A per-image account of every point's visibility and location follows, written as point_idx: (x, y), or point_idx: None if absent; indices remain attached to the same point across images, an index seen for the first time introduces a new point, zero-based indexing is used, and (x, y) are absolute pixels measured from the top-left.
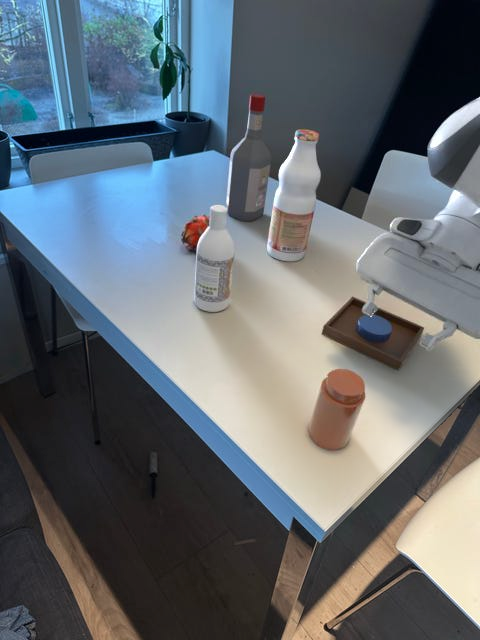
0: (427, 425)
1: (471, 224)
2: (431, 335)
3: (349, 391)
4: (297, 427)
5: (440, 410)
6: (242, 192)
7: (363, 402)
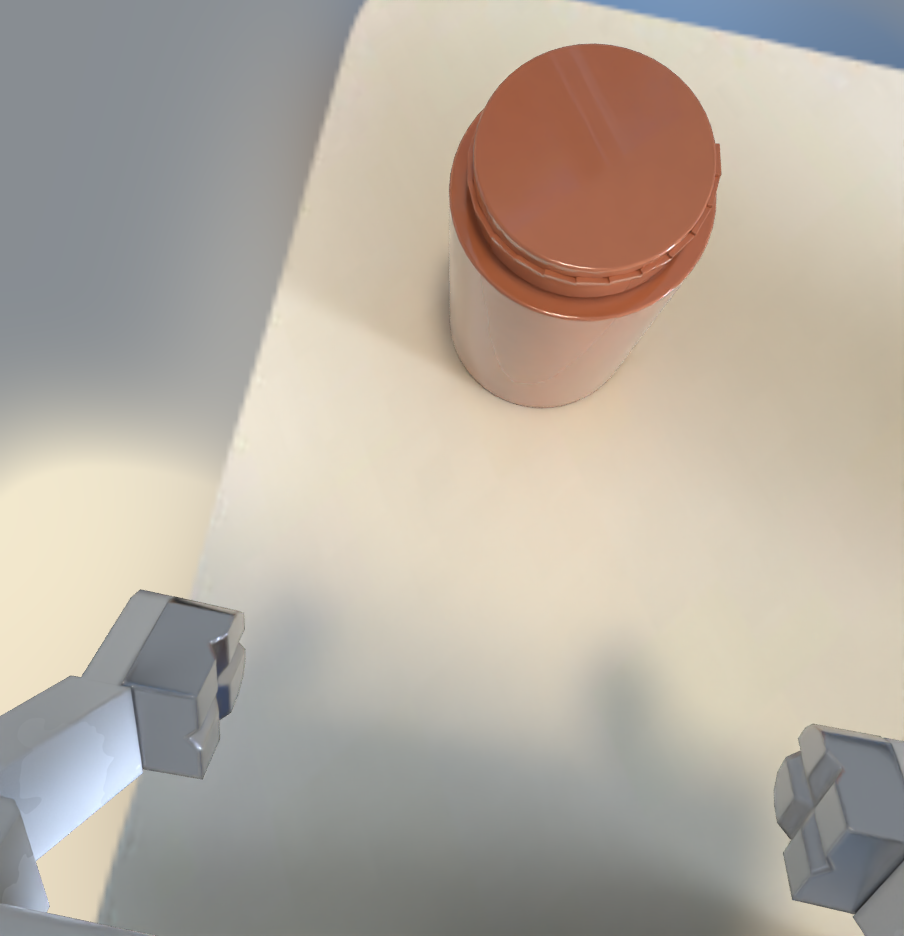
0: None
1: None
2: (143, 686)
3: (541, 89)
4: None
5: (138, 825)
6: None
7: (449, 204)
